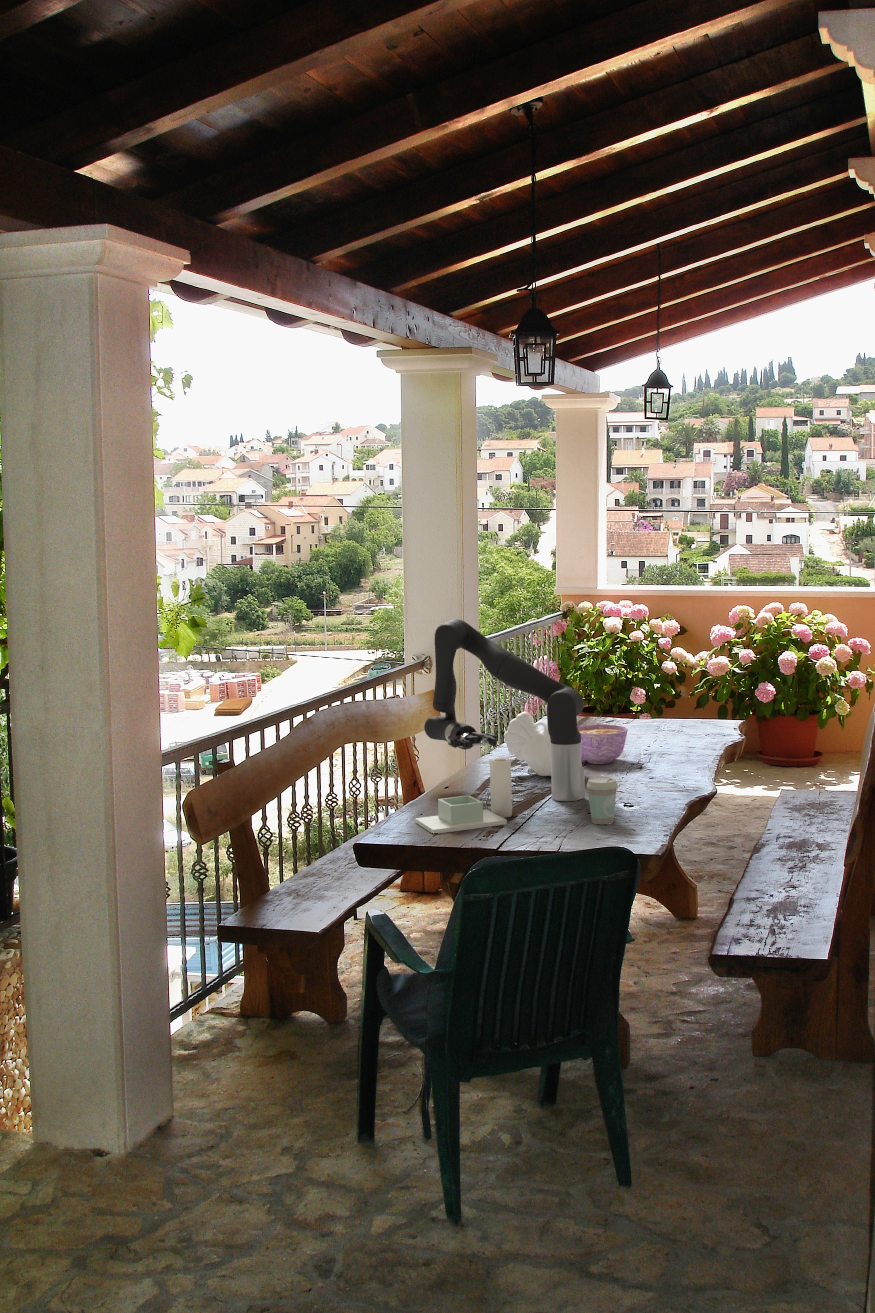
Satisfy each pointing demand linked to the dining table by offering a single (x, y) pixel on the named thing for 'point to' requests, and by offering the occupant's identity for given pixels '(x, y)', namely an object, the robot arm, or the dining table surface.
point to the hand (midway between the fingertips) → (482, 744)
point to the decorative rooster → (530, 742)
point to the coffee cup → (602, 799)
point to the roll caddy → (460, 816)
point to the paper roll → (501, 787)
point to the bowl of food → (602, 742)
